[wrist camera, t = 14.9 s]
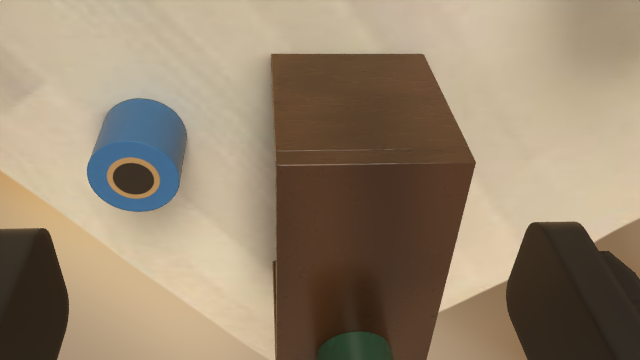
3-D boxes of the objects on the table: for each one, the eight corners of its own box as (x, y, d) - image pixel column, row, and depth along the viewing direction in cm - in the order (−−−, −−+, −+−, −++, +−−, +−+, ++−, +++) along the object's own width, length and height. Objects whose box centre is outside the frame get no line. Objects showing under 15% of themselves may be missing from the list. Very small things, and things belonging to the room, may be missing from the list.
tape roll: (110, 167, 43) (95, 214, 39) (95, 98, 40) (77, 142, 36) (190, 165, 43) (183, 212, 39) (182, 98, 40) (174, 141, 36)
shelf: (272, 270, 51) (276, 398, 41) (271, 53, 39) (276, 165, 29) (389, 266, 52) (418, 391, 42) (423, 54, 40) (476, 162, 30)
